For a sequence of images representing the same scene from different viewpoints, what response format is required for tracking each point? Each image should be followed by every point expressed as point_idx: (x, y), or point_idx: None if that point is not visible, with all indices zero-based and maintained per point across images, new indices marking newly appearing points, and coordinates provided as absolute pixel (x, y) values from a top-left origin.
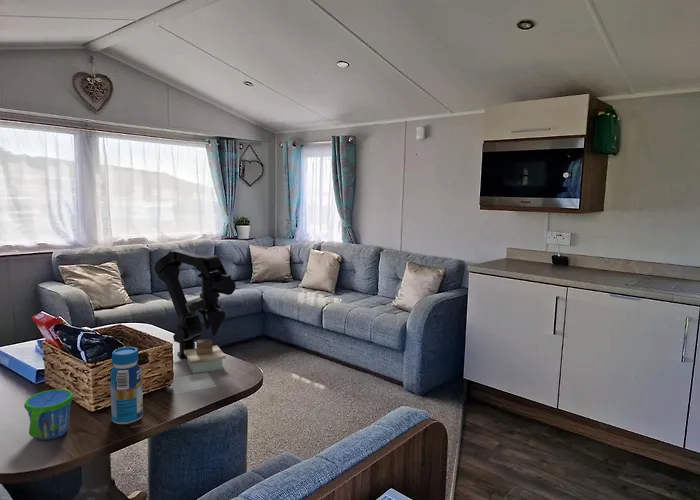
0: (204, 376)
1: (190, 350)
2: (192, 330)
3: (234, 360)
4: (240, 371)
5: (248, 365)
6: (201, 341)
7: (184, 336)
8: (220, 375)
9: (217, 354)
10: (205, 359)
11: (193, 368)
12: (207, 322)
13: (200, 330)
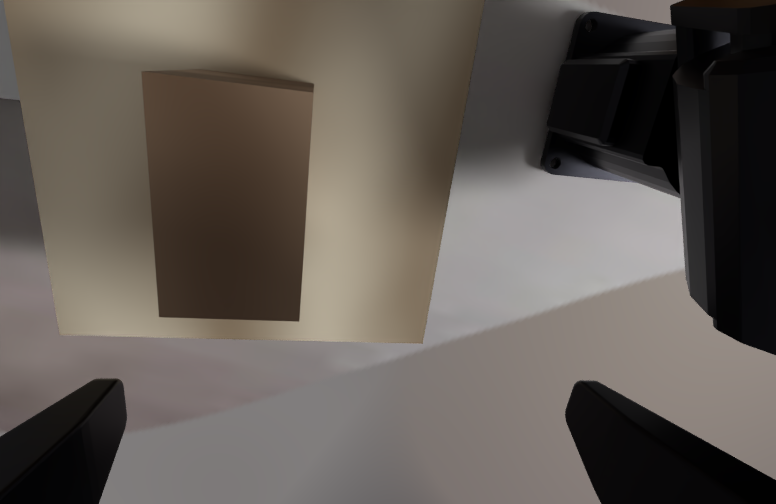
0: (9, 48)
1: (430, 42)
2: (740, 175)
3: (307, 371)
4: (63, 348)
5: (164, 420)
6: (226, 160)
7: (721, 25)
8: (27, 194)
9: (138, 274)
10: (25, 102)
11: None
12: (650, 493)
13: (707, 298)
